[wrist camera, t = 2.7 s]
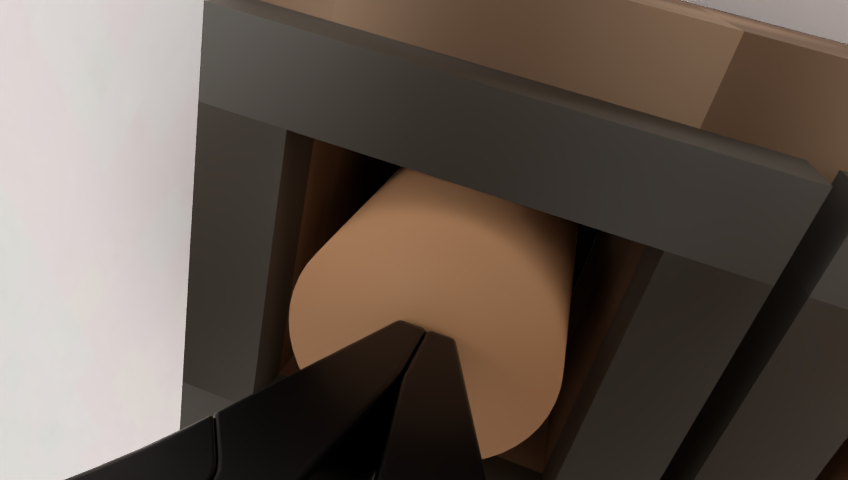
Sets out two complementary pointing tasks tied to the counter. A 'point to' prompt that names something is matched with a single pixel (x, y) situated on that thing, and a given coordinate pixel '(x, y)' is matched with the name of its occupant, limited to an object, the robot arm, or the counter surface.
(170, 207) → the counter surface
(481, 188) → the socket block
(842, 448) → the peg
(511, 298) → the peg
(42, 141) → the counter surface
